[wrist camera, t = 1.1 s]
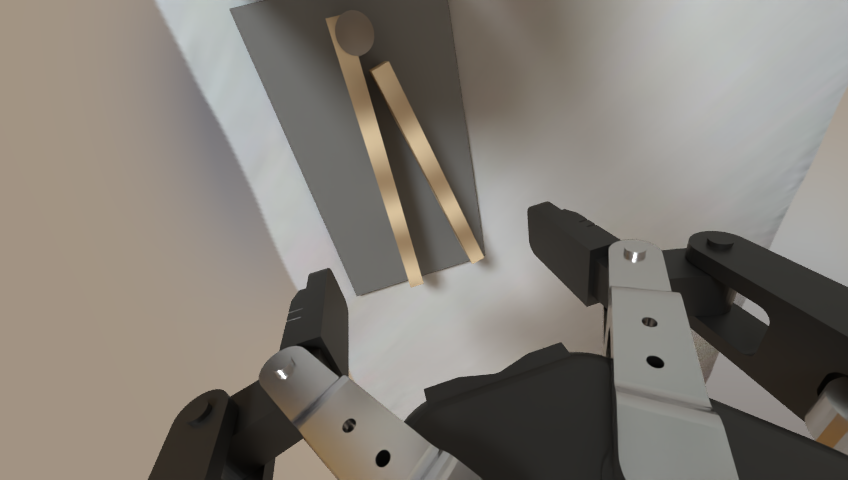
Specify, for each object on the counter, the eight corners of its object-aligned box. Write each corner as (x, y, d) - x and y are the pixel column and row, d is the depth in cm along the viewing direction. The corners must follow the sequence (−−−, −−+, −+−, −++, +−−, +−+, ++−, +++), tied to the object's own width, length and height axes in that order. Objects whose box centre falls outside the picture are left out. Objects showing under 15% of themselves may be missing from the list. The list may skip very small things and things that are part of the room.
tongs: (327, 23, 24) (324, 16, 21) (364, 14, 24) (367, 5, 21) (404, 266, 37) (411, 288, 33) (428, 259, 37) (437, 280, 33)
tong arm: (368, 70, 26) (371, 71, 23) (383, 61, 26) (388, 61, 23) (460, 245, 36) (472, 264, 33) (471, 239, 36) (484, 257, 33)
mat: (231, 9, 23) (229, 8, 23) (439, -41, 24) (441, -43, 24) (356, 292, 38) (356, 296, 37) (483, 253, 39) (484, 255, 38)
